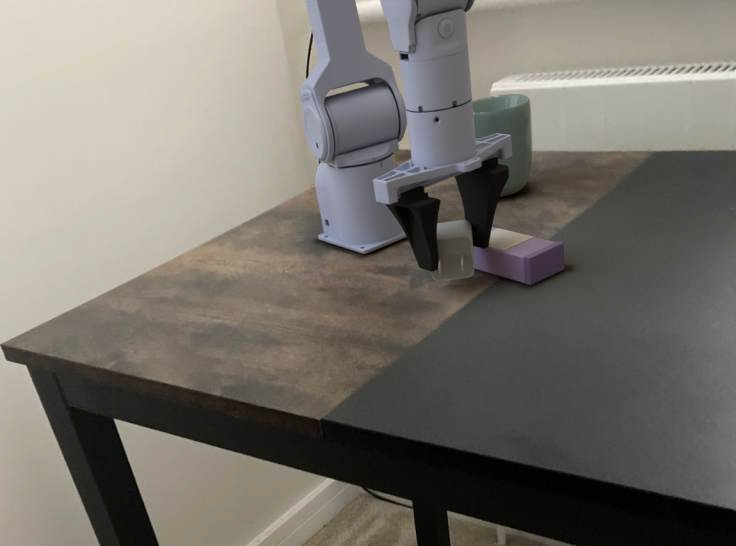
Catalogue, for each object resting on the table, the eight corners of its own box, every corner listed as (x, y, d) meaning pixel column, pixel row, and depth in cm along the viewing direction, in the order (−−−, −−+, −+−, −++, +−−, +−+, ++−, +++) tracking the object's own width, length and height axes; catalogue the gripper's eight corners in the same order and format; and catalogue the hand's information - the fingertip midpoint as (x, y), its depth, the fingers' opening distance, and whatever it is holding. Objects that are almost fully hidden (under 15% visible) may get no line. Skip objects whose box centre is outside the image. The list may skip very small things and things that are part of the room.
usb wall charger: (474, 259, 87) (470, 218, 84) (475, 287, 81) (471, 244, 79) (433, 264, 87) (428, 224, 85) (431, 292, 82) (426, 250, 79)
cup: (539, 196, 103) (535, 104, 98) (471, 207, 104) (464, 116, 98) (529, 177, 110) (525, 90, 104) (466, 188, 110) (458, 101, 105)
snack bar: (445, 260, 92) (442, 235, 90) (477, 246, 94) (475, 221, 92) (530, 285, 83) (529, 258, 81) (564, 269, 85) (564, 242, 83)
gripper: (401, 130, 71) (421, 292, 78) (533, 84, 76) (539, 239, 84) (350, 123, 76) (373, 276, 83) (477, 80, 82) (488, 227, 89)
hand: (454, 257), depth 84 cm, fingers closed on usb wall charger, 6 cm apart
